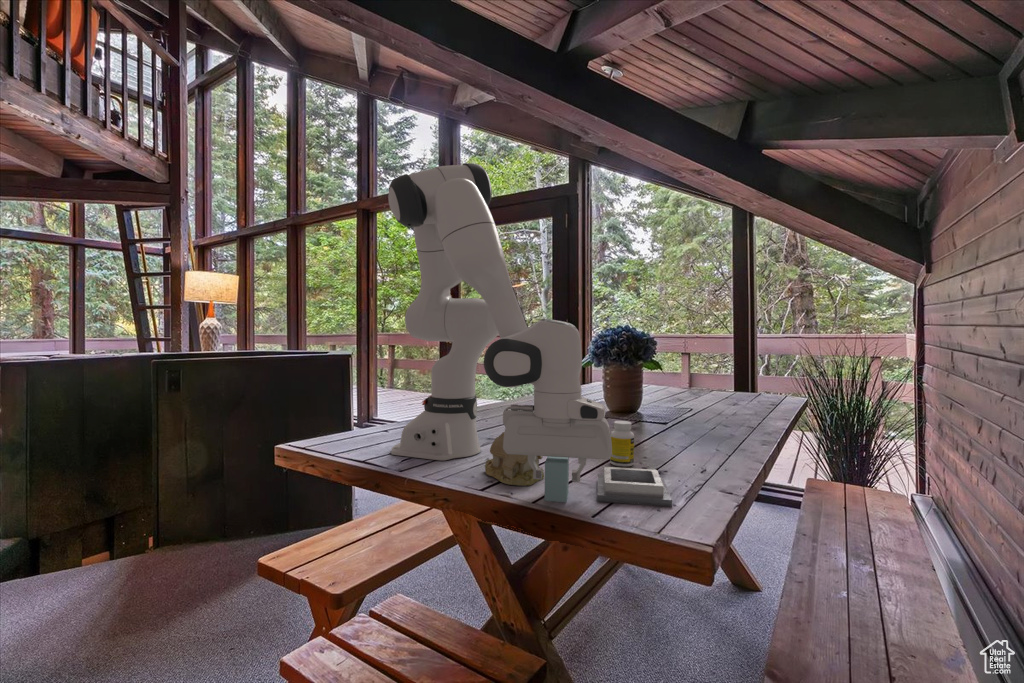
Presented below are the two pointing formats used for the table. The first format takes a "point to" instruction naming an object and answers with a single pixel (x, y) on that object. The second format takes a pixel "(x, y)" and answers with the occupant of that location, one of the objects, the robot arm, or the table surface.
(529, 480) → the ceramic model
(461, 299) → the robot arm
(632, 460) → the supplement bottle
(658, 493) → the collar socket
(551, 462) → the block
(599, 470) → the table surface
